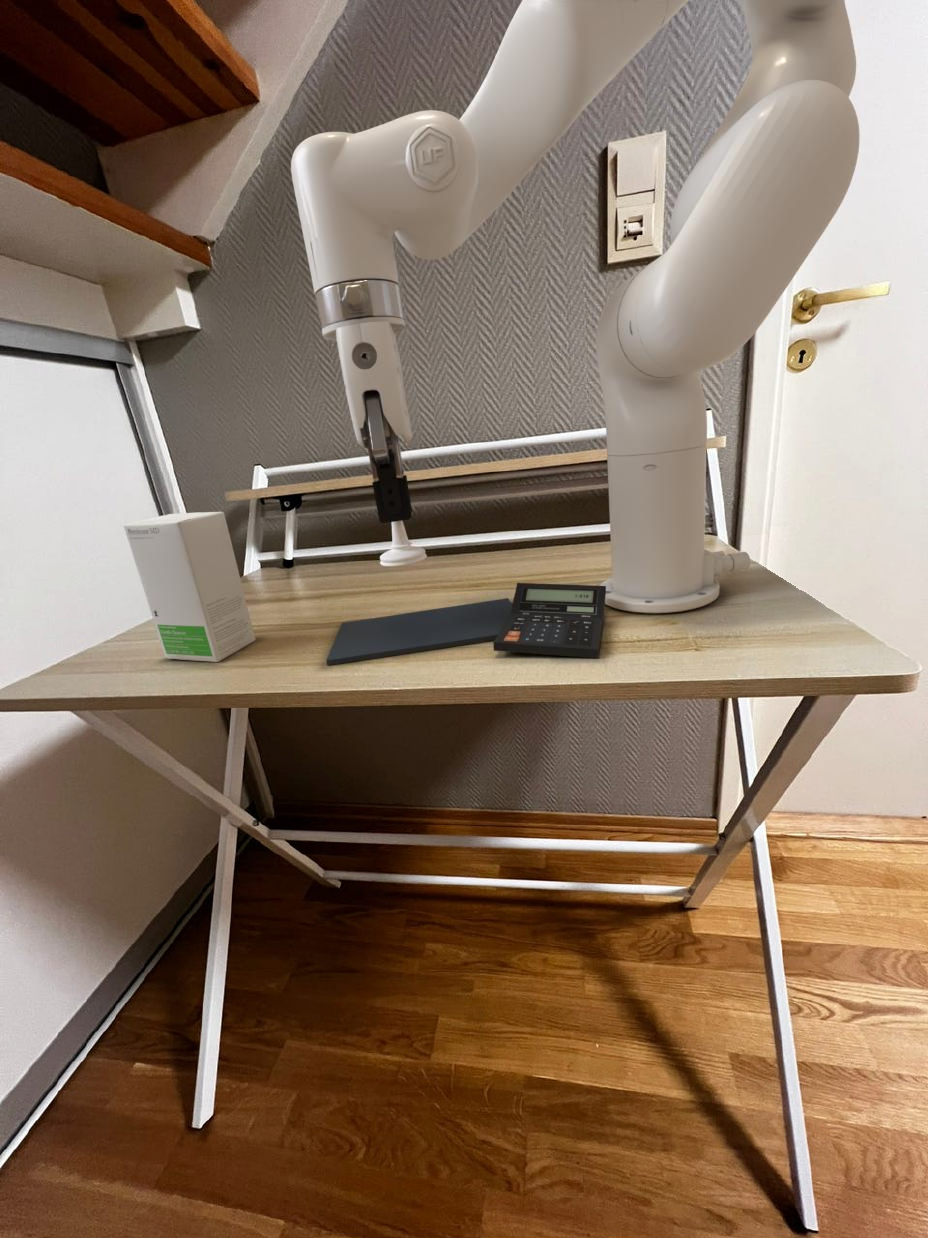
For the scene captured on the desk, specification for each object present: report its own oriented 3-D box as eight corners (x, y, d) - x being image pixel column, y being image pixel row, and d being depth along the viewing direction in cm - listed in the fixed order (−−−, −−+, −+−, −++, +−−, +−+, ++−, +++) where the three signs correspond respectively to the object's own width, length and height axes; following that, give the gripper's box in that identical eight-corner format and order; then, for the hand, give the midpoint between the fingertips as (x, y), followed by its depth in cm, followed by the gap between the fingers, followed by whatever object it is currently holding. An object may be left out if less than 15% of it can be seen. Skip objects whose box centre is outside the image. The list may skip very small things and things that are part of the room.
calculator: (493, 650, 50) (492, 620, 48) (518, 607, 60) (518, 581, 59) (597, 658, 47) (598, 626, 46) (605, 611, 57) (606, 584, 56)
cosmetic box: (164, 660, 61) (116, 525, 56) (208, 637, 67) (168, 513, 62) (220, 662, 58) (175, 520, 53) (261, 638, 64) (224, 507, 59)
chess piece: (419, 564, 53) (402, 460, 50) (373, 568, 54) (353, 466, 51) (432, 552, 58) (417, 456, 54) (389, 555, 59) (372, 461, 55)
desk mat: (508, 602, 64) (508, 597, 64) (524, 635, 54) (524, 630, 54) (343, 627, 64) (342, 622, 64) (327, 665, 53) (325, 660, 53)
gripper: (399, 287, 41) (434, 526, 47) (405, 325, 56) (432, 503, 62) (301, 300, 41) (349, 538, 47) (334, 335, 56) (367, 512, 62)
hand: (396, 517), depth 54 cm, fingers closed on chess piece
